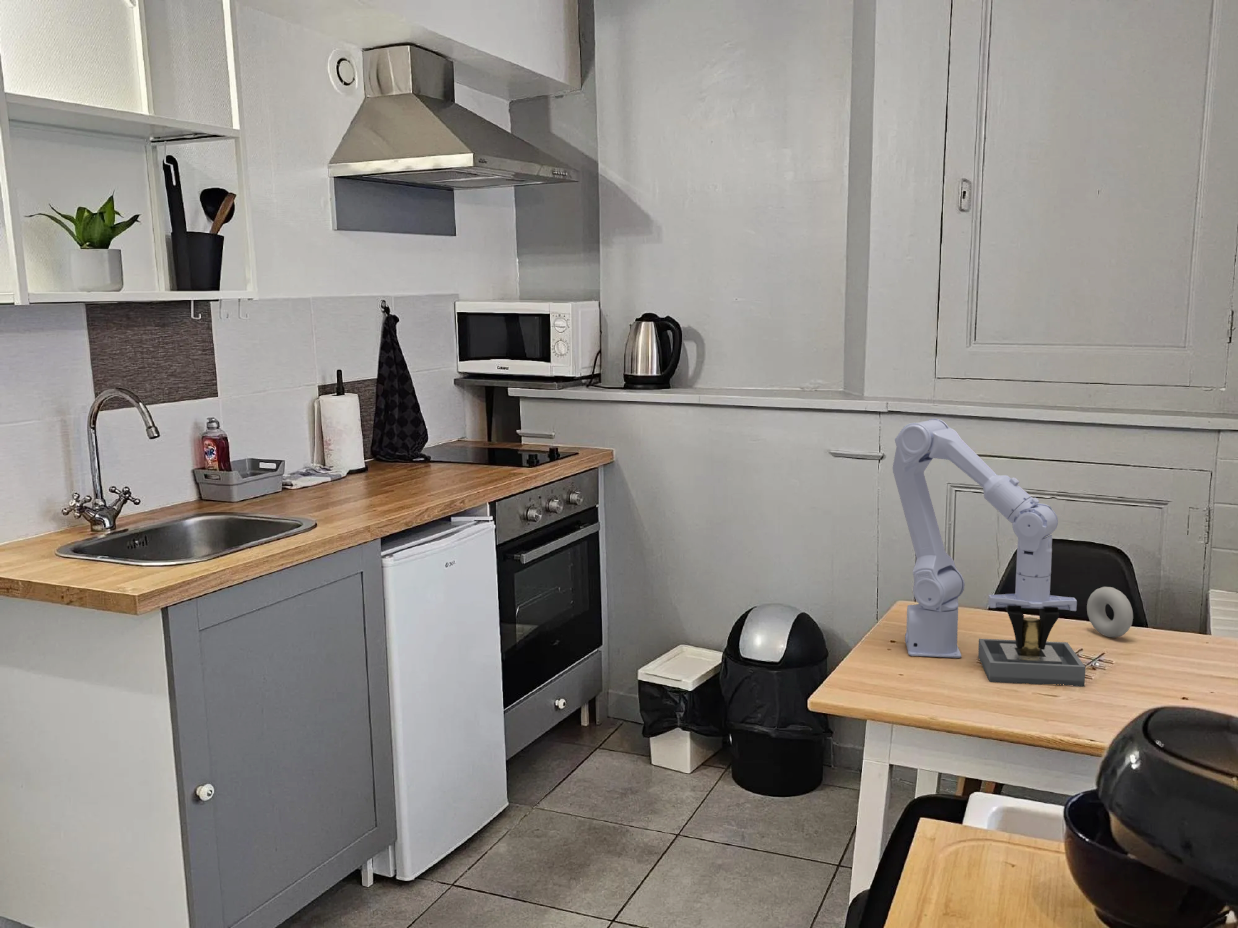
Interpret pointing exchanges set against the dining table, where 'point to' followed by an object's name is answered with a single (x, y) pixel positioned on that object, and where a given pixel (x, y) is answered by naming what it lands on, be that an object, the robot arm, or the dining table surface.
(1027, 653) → the connector
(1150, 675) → the dining table surface
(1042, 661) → the inlet
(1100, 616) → the donut
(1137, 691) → the dining table surface
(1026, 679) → the box
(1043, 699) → the dining table surface
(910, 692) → the dining table surface
